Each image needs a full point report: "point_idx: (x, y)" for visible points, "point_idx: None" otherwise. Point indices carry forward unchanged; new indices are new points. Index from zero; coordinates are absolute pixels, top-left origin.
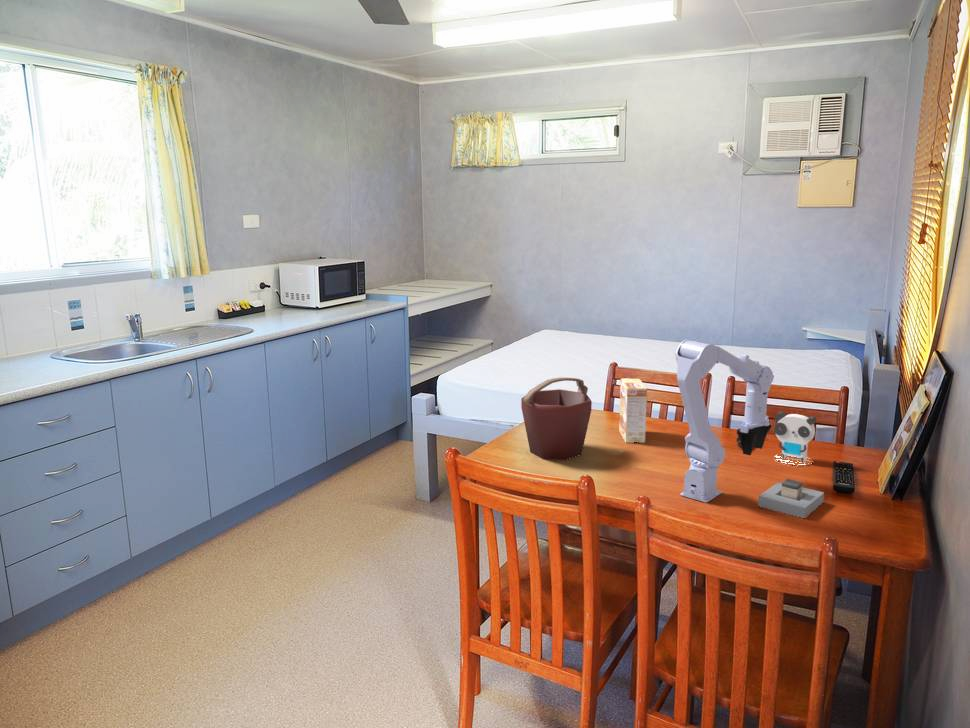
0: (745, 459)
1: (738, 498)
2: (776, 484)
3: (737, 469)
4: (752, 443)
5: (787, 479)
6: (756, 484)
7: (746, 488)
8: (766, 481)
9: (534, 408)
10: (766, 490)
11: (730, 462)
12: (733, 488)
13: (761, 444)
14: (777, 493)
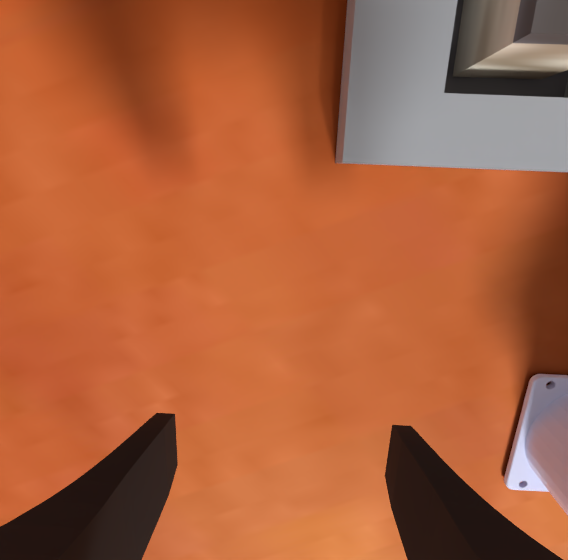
0: (7, 445)
1: (553, 291)
2: (410, 158)
3: None
4: (499, 516)
5: (553, 27)
6: (304, 291)
7: (392, 309)
8: (227, 267)
9: None
10: (558, 171)
11: None
12: (429, 356)
13: (158, 442)
14: (556, 98)
